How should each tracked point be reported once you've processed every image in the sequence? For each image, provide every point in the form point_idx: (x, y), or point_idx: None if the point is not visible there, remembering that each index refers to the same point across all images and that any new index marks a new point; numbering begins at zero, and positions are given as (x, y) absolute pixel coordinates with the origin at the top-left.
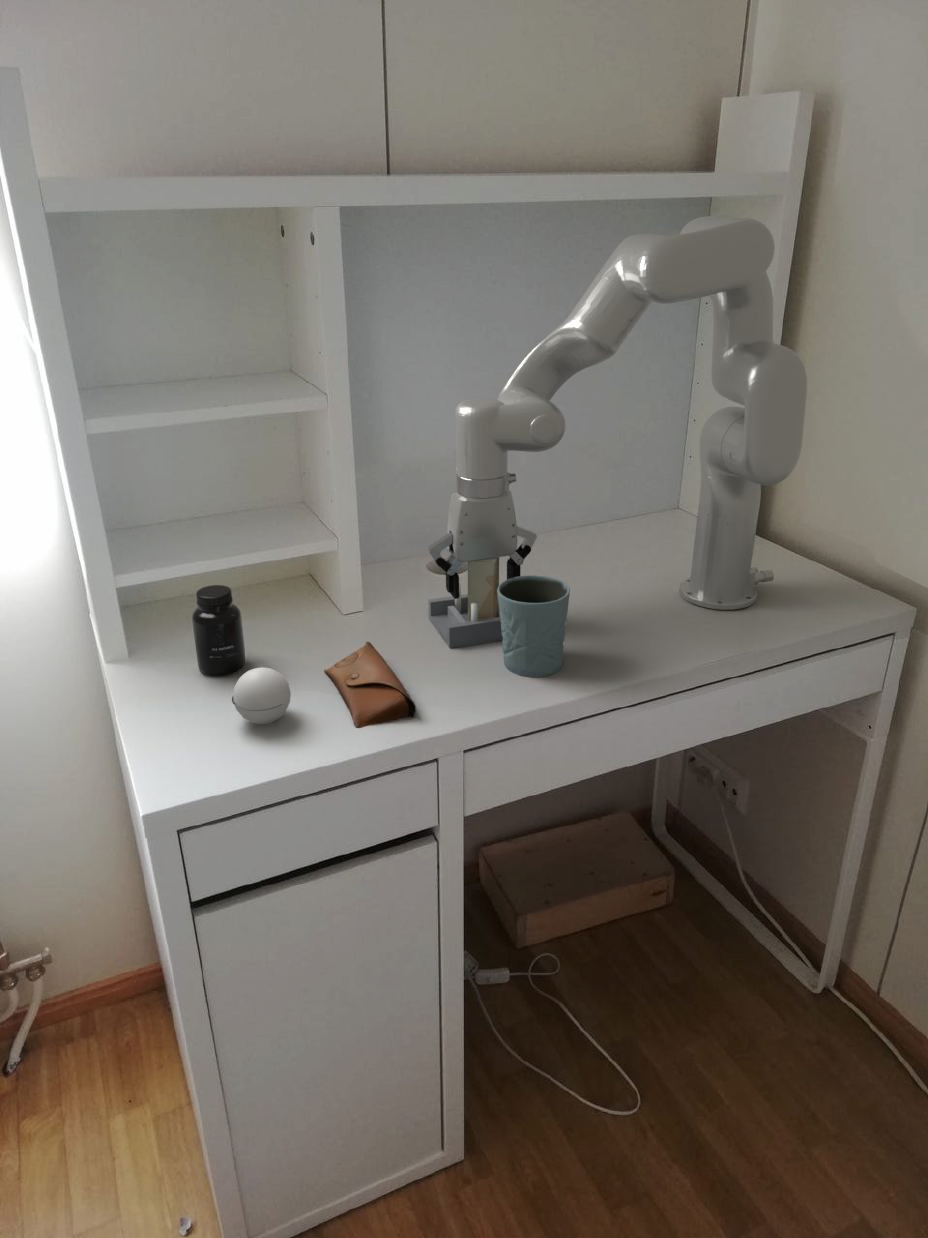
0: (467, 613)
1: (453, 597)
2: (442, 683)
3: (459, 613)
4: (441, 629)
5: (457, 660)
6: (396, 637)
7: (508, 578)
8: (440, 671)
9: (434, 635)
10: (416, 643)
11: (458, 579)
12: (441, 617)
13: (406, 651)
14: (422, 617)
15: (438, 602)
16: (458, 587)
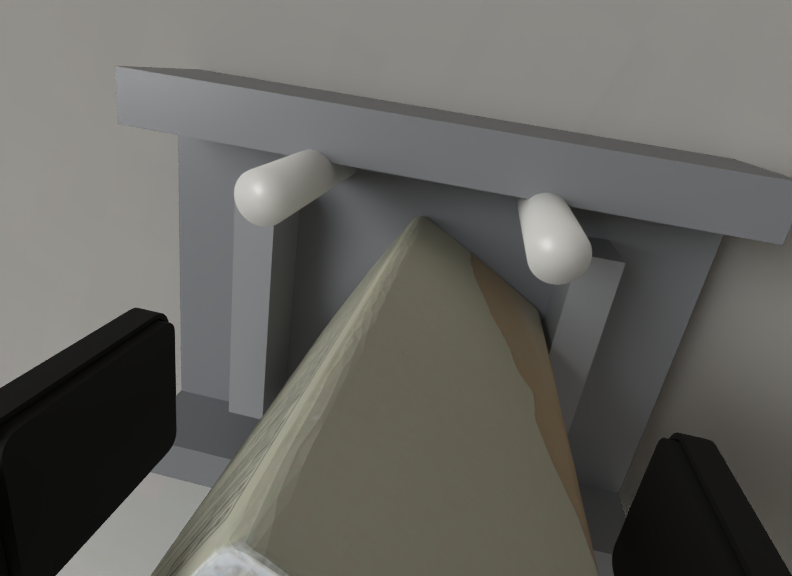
0: (390, 193)
1: (294, 125)
2: (107, 569)
3: (266, 316)
4: (185, 298)
5: (196, 489)
6: (5, 194)
7: (665, 504)
8: (119, 514)
9: (173, 267)
10: (80, 294)
11: (57, 567)
12: (230, 165)
13: (30, 334)
14: (171, 28)
15: (179, 132)
16: (113, 503)
